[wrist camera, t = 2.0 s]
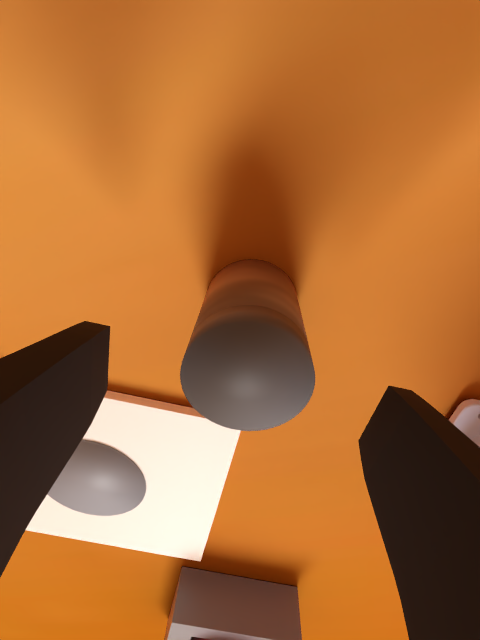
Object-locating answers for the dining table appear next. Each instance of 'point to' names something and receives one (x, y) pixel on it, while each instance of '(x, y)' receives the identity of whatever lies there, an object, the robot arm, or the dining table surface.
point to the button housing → (232, 608)
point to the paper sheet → (141, 479)
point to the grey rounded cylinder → (249, 350)
